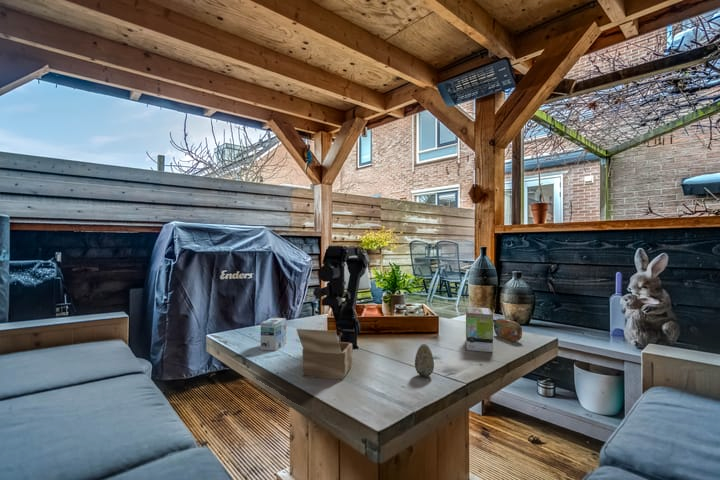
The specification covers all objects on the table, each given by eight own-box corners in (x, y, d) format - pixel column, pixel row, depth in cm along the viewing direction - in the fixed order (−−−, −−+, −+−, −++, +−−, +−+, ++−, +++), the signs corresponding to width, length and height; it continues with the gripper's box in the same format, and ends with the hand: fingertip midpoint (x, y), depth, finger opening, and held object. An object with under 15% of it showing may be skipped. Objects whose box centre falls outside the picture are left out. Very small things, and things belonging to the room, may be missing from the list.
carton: (314, 363, 120) (314, 340, 120) (353, 366, 117) (353, 342, 117) (301, 376, 109) (301, 350, 109) (344, 379, 106) (344, 352, 106)
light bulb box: (275, 351, 135) (275, 323, 135) (259, 350, 136) (259, 322, 136) (286, 343, 145) (286, 317, 145) (272, 342, 147) (272, 317, 147)
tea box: (494, 352, 132) (493, 313, 132) (466, 350, 135) (466, 312, 135) (490, 342, 147) (490, 307, 147) (465, 340, 149) (465, 306, 150)
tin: (493, 335, 158) (493, 316, 158) (499, 334, 159) (498, 316, 159) (517, 344, 144) (517, 323, 144) (523, 343, 145) (523, 323, 145)
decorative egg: (424, 381, 104) (424, 348, 104) (410, 375, 109) (410, 343, 109) (438, 377, 108) (438, 344, 108) (424, 371, 113) (423, 340, 113)
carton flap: (296, 328, 102) (296, 329, 102) (335, 330, 100) (335, 331, 100) (304, 350, 109) (304, 351, 108) (341, 352, 106) (341, 353, 106)
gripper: (323, 276, 139) (323, 315, 138) (307, 281, 120) (307, 326, 120) (350, 277, 136) (350, 316, 136) (338, 281, 118) (338, 327, 118)
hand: (336, 321), depth 128 cm, fingers closed
